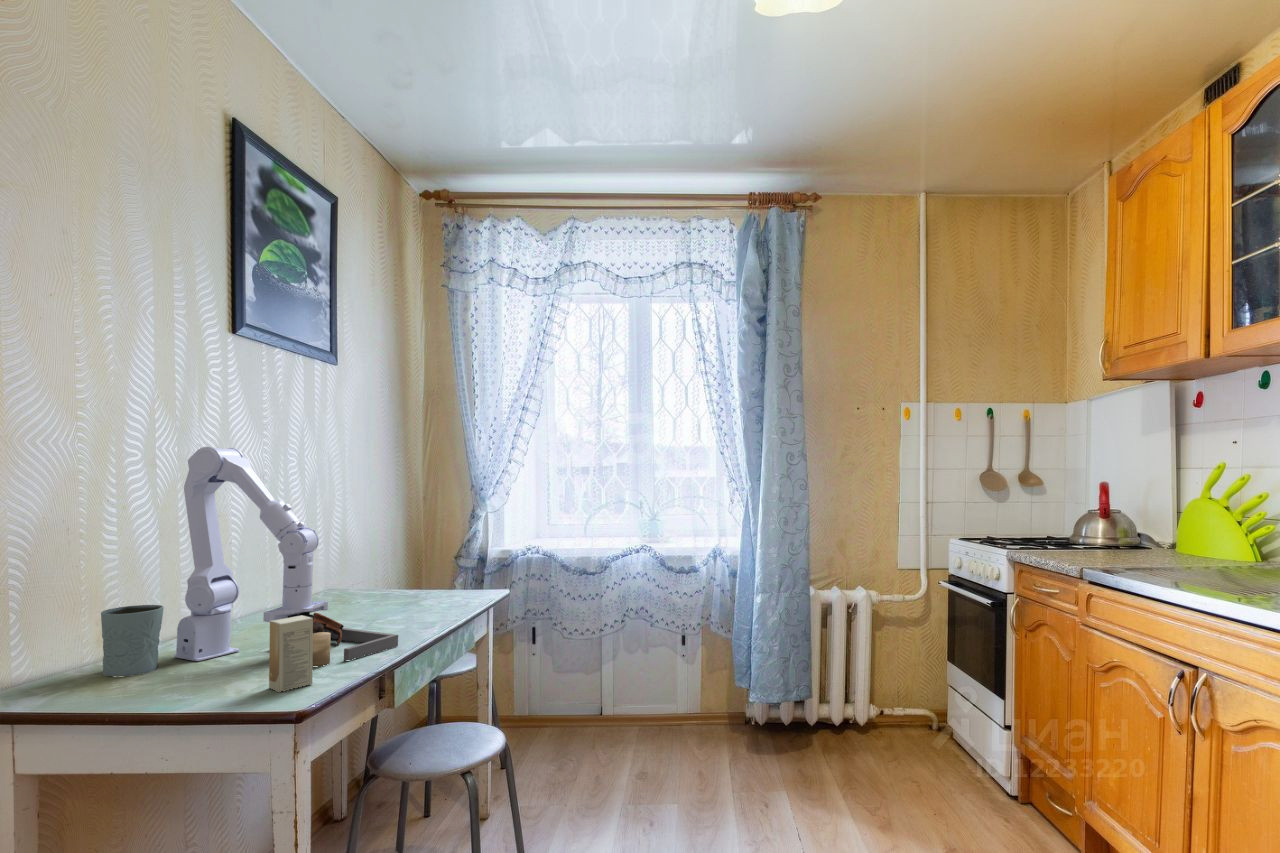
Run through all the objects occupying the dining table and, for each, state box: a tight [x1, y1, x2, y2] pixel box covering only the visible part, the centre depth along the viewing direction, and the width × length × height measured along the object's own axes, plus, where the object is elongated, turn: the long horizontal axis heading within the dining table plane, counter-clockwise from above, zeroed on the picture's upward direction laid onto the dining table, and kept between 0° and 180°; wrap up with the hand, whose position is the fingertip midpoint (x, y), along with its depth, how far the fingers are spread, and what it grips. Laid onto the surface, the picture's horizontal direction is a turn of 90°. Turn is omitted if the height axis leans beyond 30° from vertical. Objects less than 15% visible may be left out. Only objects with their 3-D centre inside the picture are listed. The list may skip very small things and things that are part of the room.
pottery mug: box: [312, 612, 345, 646], centre depth 159 cm, size 12×10×8 cm
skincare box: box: [268, 615, 314, 693], centre depth 130 cm, size 6×4×12 cm
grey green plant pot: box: [100, 604, 165, 677], centre depth 140 cm, size 10×10×12 cm
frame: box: [323, 627, 399, 661], centre depth 158 cm, size 14×22×2 cm, turn 65°
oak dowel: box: [313, 632, 332, 667], centre depth 145 cm, size 4×4×6 cm
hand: (295, 650), depth 152 cm, fingers closed
